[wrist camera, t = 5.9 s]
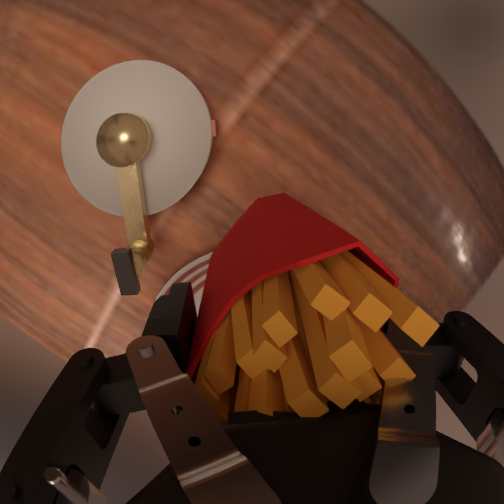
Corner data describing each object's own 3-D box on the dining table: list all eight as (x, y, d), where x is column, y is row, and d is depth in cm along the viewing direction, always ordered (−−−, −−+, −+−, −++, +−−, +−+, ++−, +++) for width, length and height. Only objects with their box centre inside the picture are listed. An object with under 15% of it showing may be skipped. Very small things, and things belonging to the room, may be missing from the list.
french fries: (280, 167, 15) (394, 277, 4) (334, 214, 16) (474, 363, 5) (184, 285, 18) (141, 481, 7) (238, 319, 19) (249, 510, 8)
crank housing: (88, 214, 33) (73, 224, 30) (73, 84, 27) (56, 81, 23) (222, 200, 34) (221, 209, 30) (213, 57, 28) (210, 48, 24)
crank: (102, 118, 25) (71, 119, 19) (150, 109, 26) (128, 105, 20) (125, 264, 31) (104, 295, 25) (169, 261, 32) (156, 293, 26)
